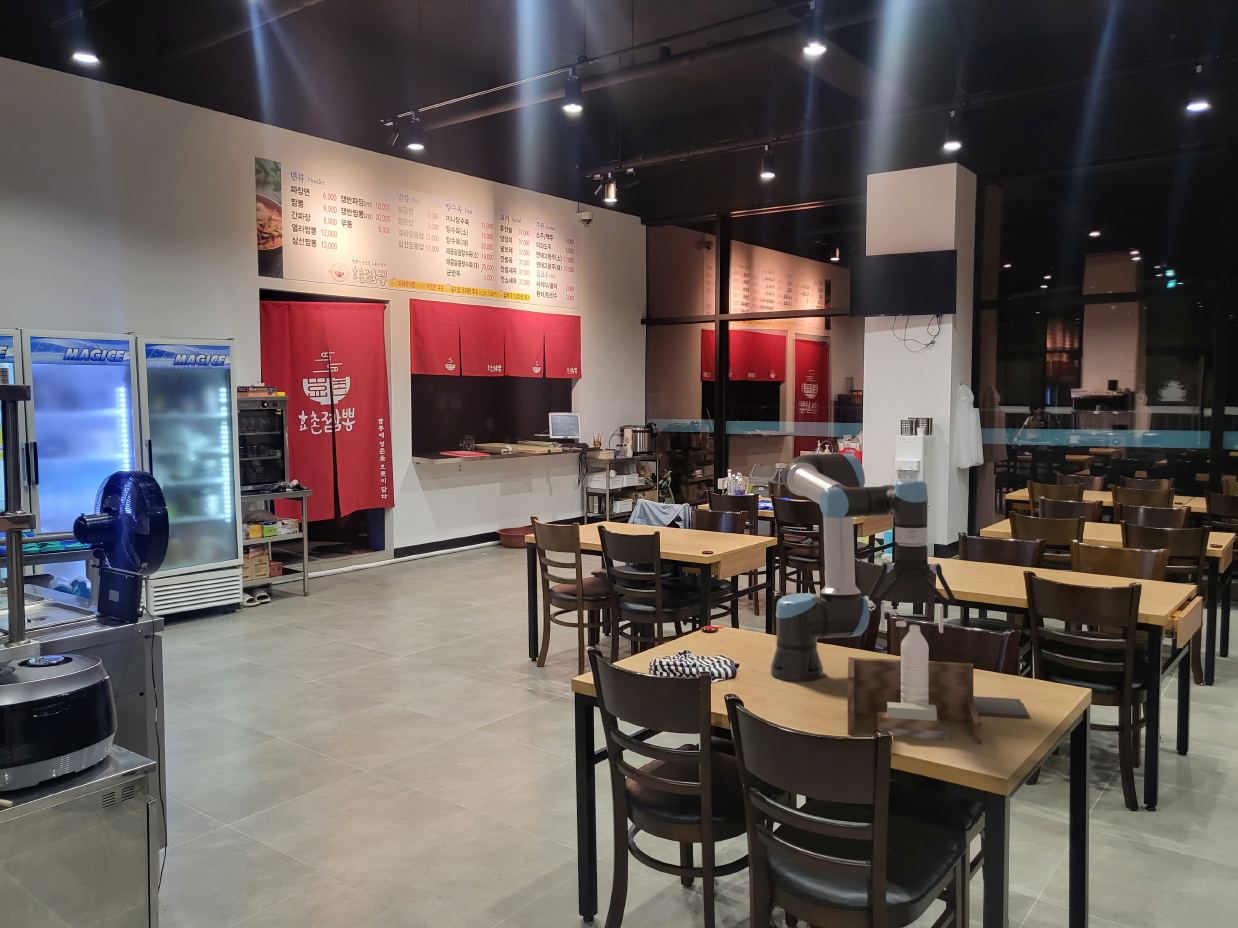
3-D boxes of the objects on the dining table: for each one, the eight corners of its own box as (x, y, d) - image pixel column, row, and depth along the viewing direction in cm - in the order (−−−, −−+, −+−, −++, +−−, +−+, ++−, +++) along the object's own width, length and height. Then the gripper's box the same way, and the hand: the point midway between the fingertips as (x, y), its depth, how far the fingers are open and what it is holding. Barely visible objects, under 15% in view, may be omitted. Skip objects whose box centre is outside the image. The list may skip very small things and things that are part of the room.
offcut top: (887, 717, 213) (887, 707, 213) (887, 712, 217) (887, 701, 217) (936, 720, 211) (936, 710, 210) (935, 715, 214) (935, 704, 214)
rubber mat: (972, 714, 227) (972, 711, 227) (966, 698, 239) (966, 695, 239) (1028, 718, 224) (1028, 715, 223) (1019, 701, 236) (1019, 698, 236)
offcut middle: (877, 727, 214) (877, 717, 214) (876, 721, 218) (876, 711, 218) (939, 731, 211) (939, 720, 211) (937, 725, 215) (937, 715, 215)
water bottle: (934, 727, 219) (934, 626, 217) (915, 732, 215) (915, 629, 214) (906, 716, 226) (906, 619, 225) (888, 721, 223) (887, 622, 221)
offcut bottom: (878, 737, 214) (878, 726, 214) (877, 731, 218) (877, 721, 218) (949, 742, 210) (949, 731, 210) (947, 736, 214) (947, 726, 214)
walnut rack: (847, 734, 215) (847, 676, 214) (848, 710, 232) (848, 657, 231) (981, 743, 207) (981, 684, 206) (972, 718, 224) (972, 663, 223)
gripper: (858, 545, 218) (858, 631, 219) (967, 547, 211) (967, 636, 212) (858, 541, 225) (858, 624, 226) (964, 542, 218) (964, 628, 219)
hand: (911, 630), depth 219 cm, fingers open, 13 cm apart
